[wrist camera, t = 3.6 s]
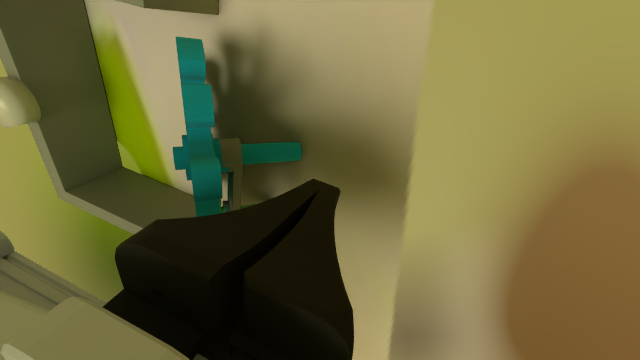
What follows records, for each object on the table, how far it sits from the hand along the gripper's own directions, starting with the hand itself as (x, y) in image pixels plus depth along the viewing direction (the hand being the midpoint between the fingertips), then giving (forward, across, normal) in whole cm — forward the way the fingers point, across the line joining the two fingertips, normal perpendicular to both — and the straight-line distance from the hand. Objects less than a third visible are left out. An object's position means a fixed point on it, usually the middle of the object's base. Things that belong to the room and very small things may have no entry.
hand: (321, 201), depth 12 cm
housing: (+3, +13, 0) cm, 13 cm away
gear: (+3, +6, 0) cm, 7 cm away
